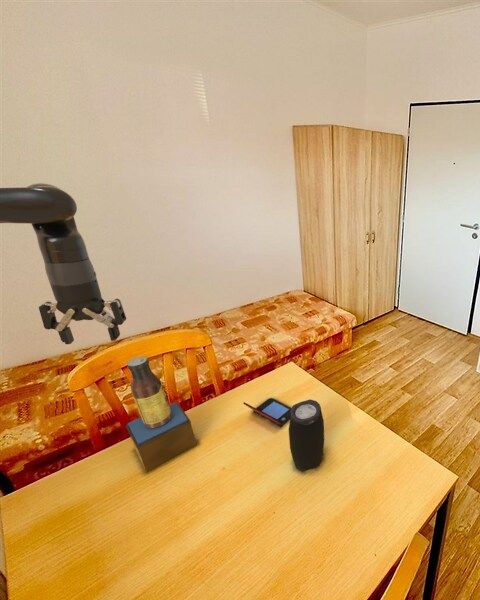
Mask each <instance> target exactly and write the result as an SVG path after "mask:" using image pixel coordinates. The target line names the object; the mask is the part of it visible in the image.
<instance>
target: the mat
mask: <svg viewBox="0 0 480 600" xmlns="http://www.w3.org/2000/svg"><path fill="white" fill-rule="evenodd" d="M176 403H177V402H173V403H171V404H169V407H170V410H171V419H170V420H169V421H168V422H167V423H166V424H164V425H162V426H160V427H157V428H148V427H146V425H145V424H144V423H143V420H142V418H141V417H139V418H137V419H134V420H132V421H130V422H128V423H127V424H128V425H129V427H130V429H131V431H132V433H133V435H134V437H135V439H136V441H137V443H138V445H139V444H141V443H143V442H145V441H147V440H149V439H151V438H153V437H155V436H158V435H160V434H162V433H164V432H166V431H168V430H170V429H172V428H174V427H176V426H178V425H180V424H182V423H184V422H186V421H188V419H187V418H186V416H185V415H184V414H183V412H182V411H181V409H180V408H179V407H178V405H177V404H176Z"/></svg>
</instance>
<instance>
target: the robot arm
mask: <svg viewBox="0 0 480 600" xmlns="http://www.w3.org/2000/svg"><path fill="white" fill-rule="evenodd" d="M77 212H78V205H77V202H76V200H75V199H74V198H73V196H72V195H70V194H69V193H68V192H67V191H65V190H64V189H61V188H60V187H57V186H55V185H53V184H49V183H43V182H37V183H32V184H29V185H28V186H26V187H23V186H22V187H0V224H31V227H32V229H33V231H34V233H35V235H36V240H37V244H38V248H39V251H40V254H41V256H42V260H43V263H44V271H45V274H46V277H47V280H48V283H49V286H50V288H51V291H52V294H53V297H54V299H55V301H56V303H55V302H52V301H45V302H44V303H42V304H41V305H39V306H38V310H39V314H40V318H41V320H42V321H41V322H42V324H43V328H44V329H45V330H55V331H56V332H57V333H58V335H59V338H60V341H61V342H62V343H64V344H65V345H71V344H72V343H73V342H74V341H75V338H74V335H73V333H72V329H71V327H70V326H69V325H70V323H72V321H75V322H81V321H93V320H95V321H97V322H99V323H102V324H103V325H105V326H106V327H107V332H108V335H109V338H110V341H111V342H116V341H117V339H118V338H119V337H120V336H121V332H120V328H119V326H121V325H123V323H124V322H125V321H126V320H127V316H126V313H125V310H124V307H123V305H122V301H121V300H120V299H119V298H114V299H112V300H105V299H103V297H102V293H101V288H100V286H99V285H100V284H99V282H98V278H97V273H96V271H95V268H94V264H93V263H92V261H91V259H90V256H89V252H88V249H87V246H86V245H87V244H86V242H85V240H84V238H83V236H82V234H81V233H80V232H79V229H78V227H77V223H76V219H75V216H76V214H77ZM105 307H107V308H108V309H109V311H111V312H112V314H113V315H111V313H110V312H109V311H108V310H107V309H105ZM56 311H59V312H60V313H62V314H63V316H62V318H61V320H60V321H58V320H57V316H56V313H55V312H56Z"/></svg>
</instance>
